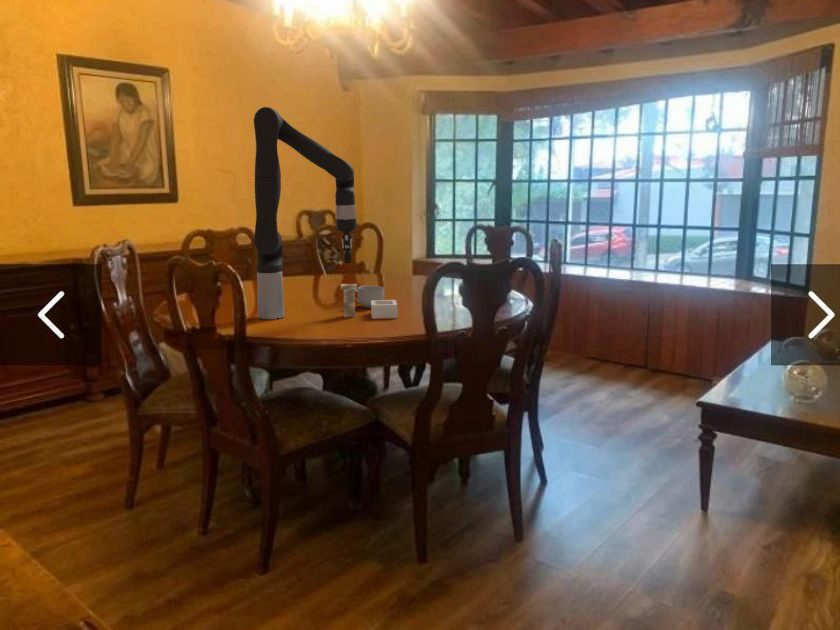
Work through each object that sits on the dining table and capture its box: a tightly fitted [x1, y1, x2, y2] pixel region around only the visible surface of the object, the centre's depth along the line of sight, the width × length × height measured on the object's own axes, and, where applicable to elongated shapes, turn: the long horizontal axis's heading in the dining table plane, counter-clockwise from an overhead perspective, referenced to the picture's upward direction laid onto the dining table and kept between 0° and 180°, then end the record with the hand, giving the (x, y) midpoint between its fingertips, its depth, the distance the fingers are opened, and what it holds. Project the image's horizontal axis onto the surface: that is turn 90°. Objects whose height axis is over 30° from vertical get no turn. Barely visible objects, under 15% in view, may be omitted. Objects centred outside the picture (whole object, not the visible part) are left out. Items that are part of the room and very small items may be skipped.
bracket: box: [340, 283, 358, 318], centre depth 251 cm, size 6×4×12 cm, turn 95°
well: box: [370, 299, 399, 320], centre depth 253 cm, size 10×11×5 cm
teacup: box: [354, 285, 385, 309], centre depth 271 cm, size 14×11×8 cm
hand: (348, 261), depth 249 cm, fingers open, 8 cm apart
